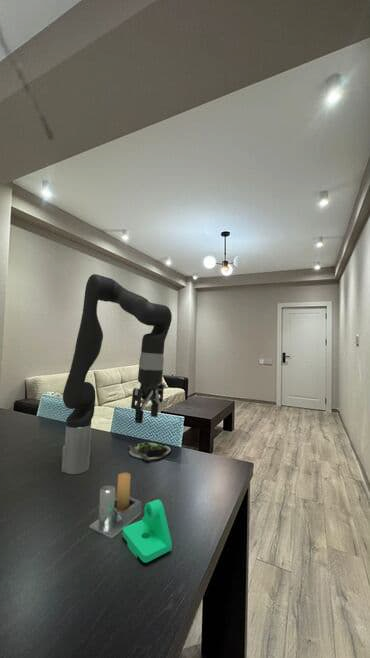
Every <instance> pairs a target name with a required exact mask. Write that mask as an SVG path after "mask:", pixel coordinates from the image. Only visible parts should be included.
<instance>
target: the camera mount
mask: <svg viewBox="0 0 370 658" xmlns="http://www.w3.org/2000/svg"><path fill="white" fill-rule="evenodd" d="M143 509H144V512H143V513H144V515H143V517H142V519H141V520H138V521H136V522H134V523H130V524H128V525H127V526H126V527H124V528H123V530H122V537H123V539H124V540H125V541H126V542H127V543H126V545H127V548H128V549H129V551H131V553H132V554H133V555H134V557H135V558H136V559H137V558H139V559H140V560H141V562H143V563H144V564H145V563H149V562H151V561H154V559H157V558H158V557H161V556H163V555H165V554H166V553H168V552H170V551H172V550H173V549H172V548H173V542H172V538H171V537H172V536H171V534H170V529H169V525H168V521H167V516H166V512H165V508H164V505H163V502H162V500H160V499H158V498H157V499H155V500H152V501H149V502H147V503H145V504H144V508H143Z"/></svg>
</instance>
